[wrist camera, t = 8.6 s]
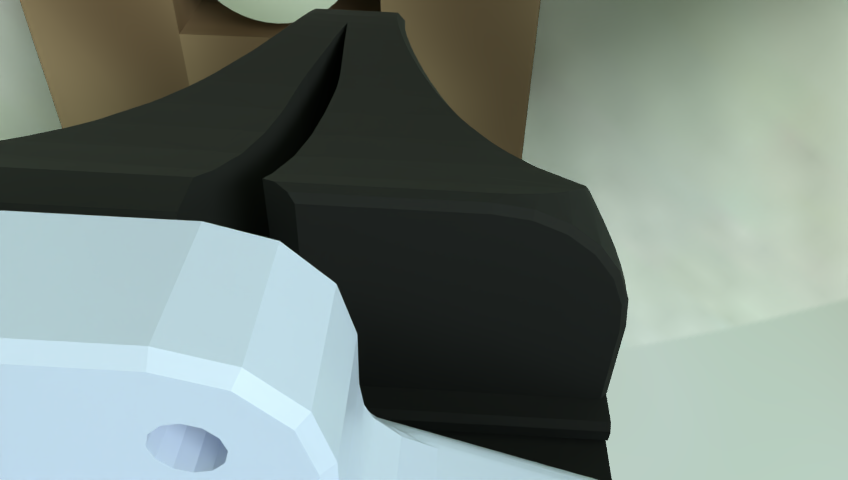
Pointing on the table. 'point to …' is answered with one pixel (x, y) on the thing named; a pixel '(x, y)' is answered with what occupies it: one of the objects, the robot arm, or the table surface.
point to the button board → (238, 35)
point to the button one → (276, 9)
